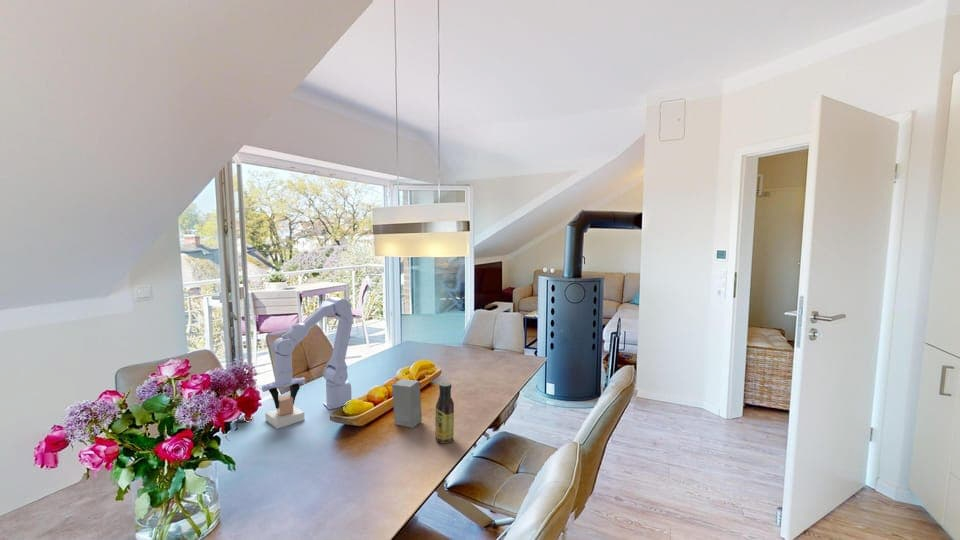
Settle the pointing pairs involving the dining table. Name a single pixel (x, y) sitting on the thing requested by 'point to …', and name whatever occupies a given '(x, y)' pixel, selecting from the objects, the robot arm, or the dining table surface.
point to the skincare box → (407, 403)
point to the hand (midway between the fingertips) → (284, 405)
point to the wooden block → (285, 404)
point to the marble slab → (284, 417)
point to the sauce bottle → (444, 414)
